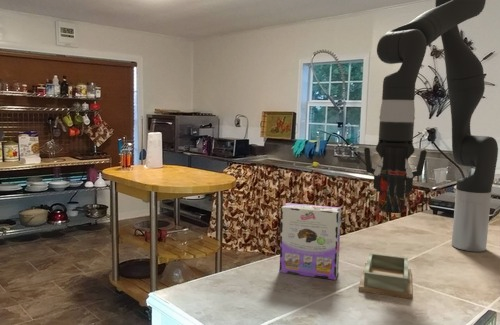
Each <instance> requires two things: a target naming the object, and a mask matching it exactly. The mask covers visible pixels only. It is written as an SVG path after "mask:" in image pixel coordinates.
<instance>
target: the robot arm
mask: <svg viewBox="0 0 500 325" xmlns="http://www.w3.org/2000/svg"><path fill="white" fill-rule="evenodd" d="M485 5H486V0H435V5H434V6H435V7H433V8H431V9H428V10H426V11H423V13H421V14H419V15H418V16H417V17H415V18H413V19H412V20H411V21H410V22H408V23H406V24H403V25H400V26H398V27H396V28H392V29H391V30H388V31H387V32H385V33H384V34H383V35H382V36H381V37H380V39H379V40H378V42H377V46H376V54H377V58H378V59H379V60H380V61H381V62H383V63H385V64H387V65H392V64H393V65H394V64H401V65H400V68H399V69H398V70H397V71H395V72H393V73H390V74H387V75H386V76H385V77H383V81H382V82H383V83H382V96H381V106H380V110H379V127H378V142H377V145H376V146H366V147H364V150H363V151H364V152H363V153H364V160H365V161H364V162H365V171H366V173H368V174H372V175H373V189H375V190H376V191H375V192H378V193H379V189H380V172H381V168H382V167H383V163H382V162H383V157H382V147H402V148H408V154H407V159H408V160H409V158H411V156H412V155H413V154H415V157H416V159H418V162H417V165H416V169H415V170H412V167H411V165H410V163H409V161H408V162H407V159H406V162H405V163H406V164H405V169H406V173H407V179H406V195H409V194H410V192H412V190H413V185H414V178H416V177H420V176H422V174H423V171H424V167H425V161H426V158H427V152H428V151H427V150H426V149H424V148H423V149H420V148H415V147H414V143H413V142H414V128H415V120H416V117H415V114H416V113H415V112H416V108H415V98H416V97H415V95H416V94H415V92H416V82H417V79H418V77H419V76H418V75H419V74H420V69H421V67H422V65H423V61H424V58H425V55H426V52H427V47H428V46H429V45H431V44H432V43H433V42H435V41H436V40H437V39H438V38H441V42H442V47H443V48H442V49H443V54H444V63H445V75H446V76H445V77H446V83H447V84H446V86H447V93H448V98H449V105H450V116H451V118H450V119H451V151H452V156H453V160H454V162H455V163H456V164H457V165H458V166H462V167H470V168H474V172H473V174H471V175H470V176H467V177H462V178H458V179H457V181H456V184H455V187H456V188H455V197H454V198H455V201H454V209H453V210H454V212H453V224H452V232H451V233H452V235H451V246H452V247H454V248H455V249H459V250H463V251H467V252H473V253H474V252H479V253H480V252H485V251H486V250H487V243H488V234H489V223H490V210H491V199H492V189H493V188H492V187H493V184H494V181H495V175H496V169H497V168H496V167H497V161H498V158H499V157H498V156H499V146H498V142H497V140H496V139H495V137H492V136H489V135H488V136H487V135H472V134H471V120H472V117H473V114H474V112H475V110H476V109H477V107H478V105H479V103H480V102H481V101H482V98H483V96H484V93H485V88H486V85H485V74H484V67H483V65H482V62H481V61H480V60H479V57H477V55H476V54H475V53H474V52H473V51H472V50H471V48H469V46H468V45H467V44H466V42H465V41H464V39H463V37H462V35H461V32H460V29H459V25H460V24H462V23H464V22H466V21H467V20H471V19H472V18H475V17H477V16H479V15H480V14H482V12H483V10H484V9H485V7H486V6H485ZM375 152H377V154H378V155H379V157H380V161H379V162H378V165H377V166H376V168H374V167H373V164H372V157H373V156H374V154H375ZM381 158H382V159H381Z"/></svg>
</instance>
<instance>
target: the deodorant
mask: <svg viewBox="0 0 500 325" xmlns="http://www.w3.org/2000/svg"><path fill="white" fill-rule="evenodd" d="M407 154H408V148H402V147H382V157H383V162H382V163H383V167H382V168H381V172H380V189H379V192H378V205H377V206H378V207H377V210H378V211H380V212H383V213H388V214H403V213H405V208H406V195H407V194H406V179H407V173H406V169H405V164H406V163H405V162H406V159H407ZM381 159H382V158H381V157H380V160H381ZM407 162H408V163H409V158H408V159H407Z"/></svg>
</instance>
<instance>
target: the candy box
mask: <svg viewBox="0 0 500 325" xmlns="http://www.w3.org/2000/svg"><path fill="white" fill-rule="evenodd" d="M341 209H342V208H341V207H339V206H337V207H336V206H327V205H326V206H325V205H314V204H304V203H291V202H287V203H284V205H282V206H281V207H280V239H279V240H280V242H279V244H280V245H279V270H278V271H279V273H283V274H289V275H297V276H304V277H311V278H312V277H313V278H320V279H327V280H336V279H337V277H338V274H339V268H340V267H339V265H340V264H339V262H340V245H341V242H340V240H341V218H342V217H341V216H342V214H341V211H342V210H341Z"/></svg>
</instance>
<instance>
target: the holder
mask: <svg viewBox="0 0 500 325" xmlns="http://www.w3.org/2000/svg"><path fill="white" fill-rule="evenodd" d="M408 259H409V258H408V257H406V256H405V257H404V256H403V257H402V256H397V255H387V254H380V253H373V252H369V254H368V258H367V262H365V263H364V266H363V269H362V272H361V273H362V274H361V277H360V281H359V285H358V291H359V292H364V293H371V294H379V295H384V296H389V297H397V298H403V299H408V300H412V299H413V291H412V290H413V284H412V283H413V282H412V280H413V279H412V269H411V268H409V264H408V263H409V261H408Z"/></svg>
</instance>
